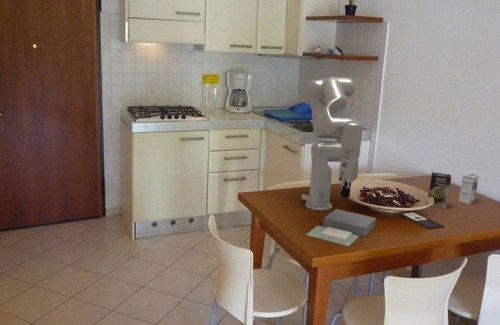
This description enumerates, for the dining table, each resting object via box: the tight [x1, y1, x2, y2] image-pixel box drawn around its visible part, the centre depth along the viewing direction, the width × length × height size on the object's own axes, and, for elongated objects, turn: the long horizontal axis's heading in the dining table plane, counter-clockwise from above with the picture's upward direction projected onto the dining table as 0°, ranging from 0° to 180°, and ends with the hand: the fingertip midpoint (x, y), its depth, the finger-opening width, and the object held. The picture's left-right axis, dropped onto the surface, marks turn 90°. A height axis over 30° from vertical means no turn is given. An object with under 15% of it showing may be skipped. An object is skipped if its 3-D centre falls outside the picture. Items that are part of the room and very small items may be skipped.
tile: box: [321, 227, 352, 244], centre depth 193 cm, size 10×8×2 cm
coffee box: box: [427, 171, 452, 210], centre depth 237 cm, size 9×6×16 cm
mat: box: [305, 225, 360, 248], centre depth 195 cm, size 18×12×1 cm, turn 59°
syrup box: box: [458, 172, 480, 205], centre depth 246 cm, size 6×6×14 cm
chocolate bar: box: [400, 212, 445, 230], centre depth 217 cm, size 9×1×18 cm
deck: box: [322, 208, 377, 238], centre depth 205 cm, size 18×14×4 cm
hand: (345, 196), depth 195 cm, fingers closed
